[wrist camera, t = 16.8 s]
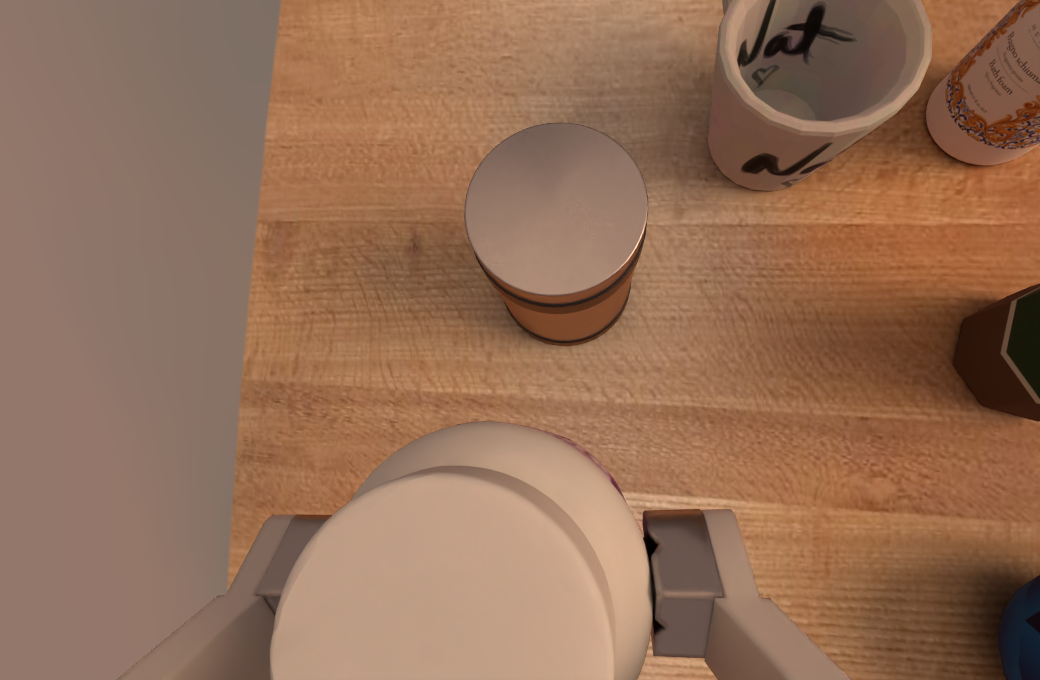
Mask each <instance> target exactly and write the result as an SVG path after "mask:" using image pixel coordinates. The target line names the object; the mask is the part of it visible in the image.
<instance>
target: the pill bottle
mask: <svg viewBox="0 0 1040 680" xmlns="http://www.w3.org/2000/svg"><path fill="white" fill-rule="evenodd" d="M652 617H653V588H652V576H651V564H650V560H649V556H648V553H647V549H646V546H645V542H644V539H643V536H642V533H641V531H640V528H639V526H638V524H637V522H636V520H635V518H634V516H633V514H632V512H631V510H630V508H629V506H628V505H627V503H626V501H625V499H624V497H623V495H622V493H621V490H620V489H619V487H618V485H617V483H616V482H615V480H614V478H613V477H612V476H611V474H610V473H609V472H608V470H607V469H606V468H605V467H604V465H603V464H601V463H600V462H599V461H598V460H597V459H596V458H595V457H594V456H593V455H592V454H591V453H590V452H588V451H587V450H586V449H584V448H583V447H581V446H580V445H578V444H576V443H575V442H573V441H571V440H569V439H567V438H564V437H562V436H559V435H556V434H553V433H550V432H547V431H543V430H540V429H535V428H531V427H527V426H522V425H517V424H511V423H501V422H492V421H481V422H471V423H465V424H458V425H455V426H452V427H448V428H444V429H441V430H438V431H435V432H432V433H430V434H427V435H424V436H422V437H420V438H418V439H417V440H415V441H413V442H411V443H409V444H407V445H406V446H404V447H403V448H401V449H399V450H398V451H397V452H395V453H394V454H393V455H391V456H390V457H389V458H388V459H386V460H385V461H384V462H383V463H382V464H381V465H380V466H378V467H377V468H376V469H375V470H374V471H373V472H372V473H371V474H370V475H369V477H368V478H367V479H366V480H365V482H364V483H363V484H362V485H361V487H360V488H359V489H358V491H357V492H356V493H355V495H354V496H353V498H352V499H351V501H350V502H349V503H347V504H346V505H345V506H343V507H342V508H341V509H339V510H338V511H337V512H336V513H335V514H334V515H332V516H331V517H330V518H329V519H328V520H327V521H326V522H325V523H324V524H323V525H322V526H321V527H320V528H319V530H318V531H317V532H316V533H315V534H314V535H313V537H312V538H311V539H310V541H309V542H308V543H307V545H306V546H305V548H304V549H303V551H302V552H301V554H300V556H299V557H298V559H297V561H296V562H295V564H294V566H293V568H292V570H291V572H290V574H289V576H288V579H287V581H286V584H285V586H284V589H283V591H282V594H281V598H280V601H279V605H278V607H277V610H276V614H275V621H274V629H273V634H272V639H271V646H270V678H271V680H637V678H638V676H639V674H640V671H641V669H642V666H643V663H644V660H645V656H646V652H647V649H648V645H649V640H650V634H651V628H652Z"/></svg>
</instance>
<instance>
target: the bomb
mask: <svg viewBox="0 0 1040 680" xmlns="http://www.w3.org/2000/svg"><path fill="white" fill-rule="evenodd" d="M998 649H999V655H1000V660H1001V664H1002V668H1003V673H1004V676H1005V678H1006V680H1040V575H1039V576H1037V577H1036V578H1034V579H1033V580H1031V581H1030V582H1028V583H1027V584H1025V585H1024V586H1022V587H1021V588H1020V589H1018V590H1017V592H1016V593H1015V594H1014V596H1013V597H1012V598H1011V600H1010V601H1009V602H1008V604H1007V605H1006V607H1005V608H1004V610H1003V614H1002V617H1001V621H1000V624H999V628H998Z"/></svg>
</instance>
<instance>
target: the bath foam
mask: <svg viewBox="0 0 1040 680" xmlns="http://www.w3.org/2000/svg"><path fill="white" fill-rule="evenodd" d="M926 121H927V126H928V129H929V132H930V134H931V136H932V138H933V139H934V141H935V142H936V143H937V144H938V146H939V147H940V148H941V149H942V150H944V151H945V152H946V153H948V154H949V155H951V156H952V157H954V158H956V159H958V160H961V161H963V162H966V163H970V164H975V165H997V164H1002V163H1006V162H1009V161H1011V160H1014V159H1016V158H1018V157H1020V156H1022V155H1024V154H1026V153H1027V152H1029V151H1030V150H1032V149H1034V148H1035V147H1037V146H1038V145H1040V0H1020V1H1019V2H1018V3H1017V4H1016V5H1015V6H1014V7H1013V8H1012V9H1011V10H1010V11H1009V13H1008V14H1007V15H1006V16H1005V17H1004V18H1003V19H1002V20H1001V21H1000V22H999V23H998V24H997V25H996V26H995V27H994V28H993V29H992V30H991V31H990V32H989V33H988V34H987V35H986V36H985V37H984V38H983V39H982V40H981V41H980V42H979V43H978V44H977V45H976V46H975V47H974V48H973V49H972V50H971V51H970V52H969V53H968V54H967V55H966V56H965V57H964V58H963V59H962V60H961V61H960V62H959V63H958V64H957V65H956V67H955V68H954V69H953V70H952V71H951V72H950V73H949V74H948V75H947V76H946V77H945V78H944V79H943V80H942V81H941V82H940V83H939V84H938V85H937V87H936V88H935V89H934V91H933V92H932V94H931V96H930V98H929V101H928V104H927V109H926Z"/></svg>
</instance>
